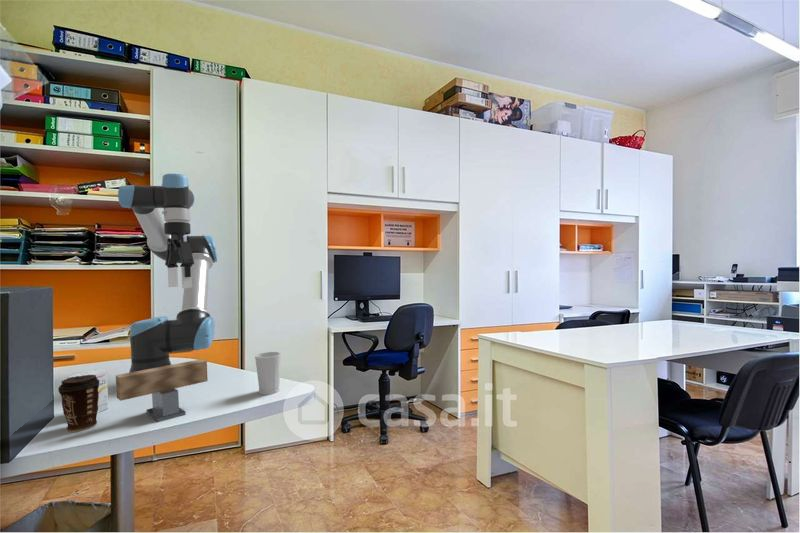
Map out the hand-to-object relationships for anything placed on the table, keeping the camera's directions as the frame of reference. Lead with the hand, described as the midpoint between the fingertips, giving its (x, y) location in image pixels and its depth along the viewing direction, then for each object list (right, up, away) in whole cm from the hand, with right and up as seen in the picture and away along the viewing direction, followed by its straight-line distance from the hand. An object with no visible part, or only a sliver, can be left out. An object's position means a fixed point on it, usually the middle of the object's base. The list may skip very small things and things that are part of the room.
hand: (180, 287), depth 134 cm
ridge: (+5, -35, -18) cm, 39 cm away
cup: (+29, -34, -1) cm, 45 cm away
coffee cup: (-12, -36, -26) cm, 46 cm away
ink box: (-18, -36, -16) cm, 43 cm away
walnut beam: (+5, -28, -18) cm, 34 cm away
